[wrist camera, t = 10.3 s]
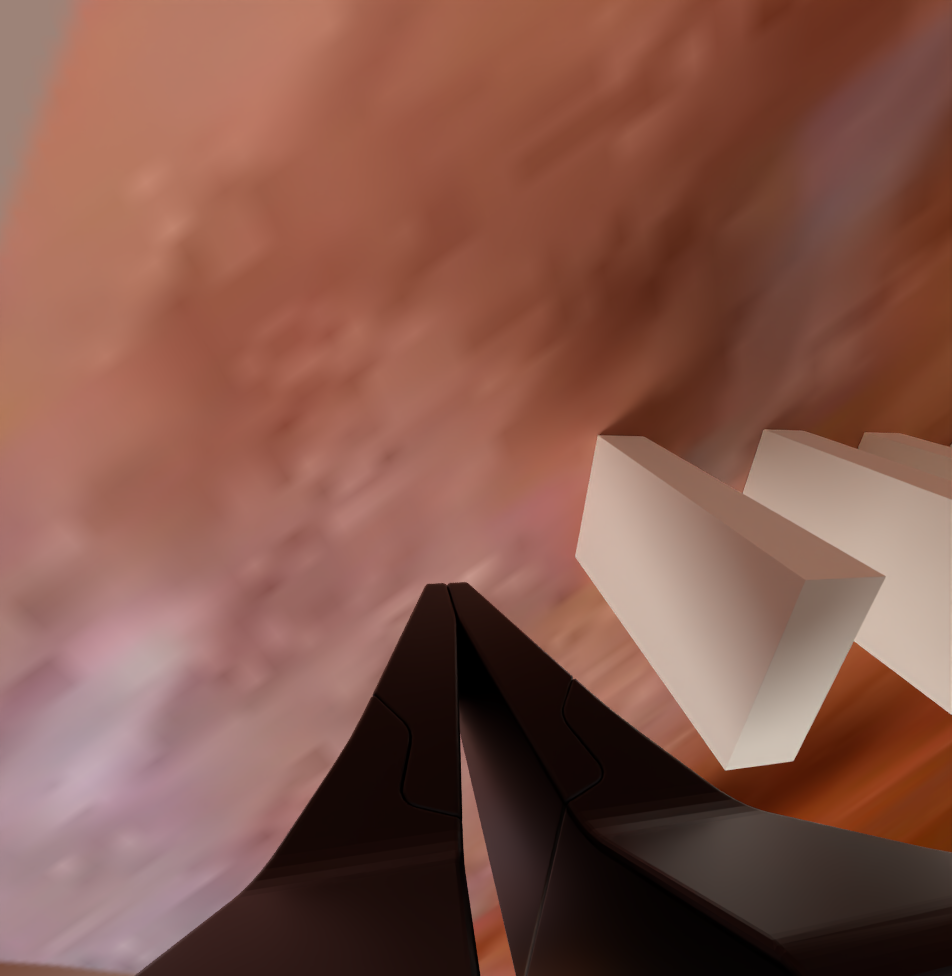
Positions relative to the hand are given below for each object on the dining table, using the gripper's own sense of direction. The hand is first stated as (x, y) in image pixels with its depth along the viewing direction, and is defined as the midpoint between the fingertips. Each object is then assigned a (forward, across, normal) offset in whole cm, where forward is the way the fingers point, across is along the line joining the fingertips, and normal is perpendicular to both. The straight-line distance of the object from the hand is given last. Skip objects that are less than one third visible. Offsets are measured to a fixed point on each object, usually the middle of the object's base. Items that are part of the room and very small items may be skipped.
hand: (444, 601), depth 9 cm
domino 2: (+6, -12, 0) cm, 13 cm away
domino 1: (+6, -6, 0) cm, 8 cm away
